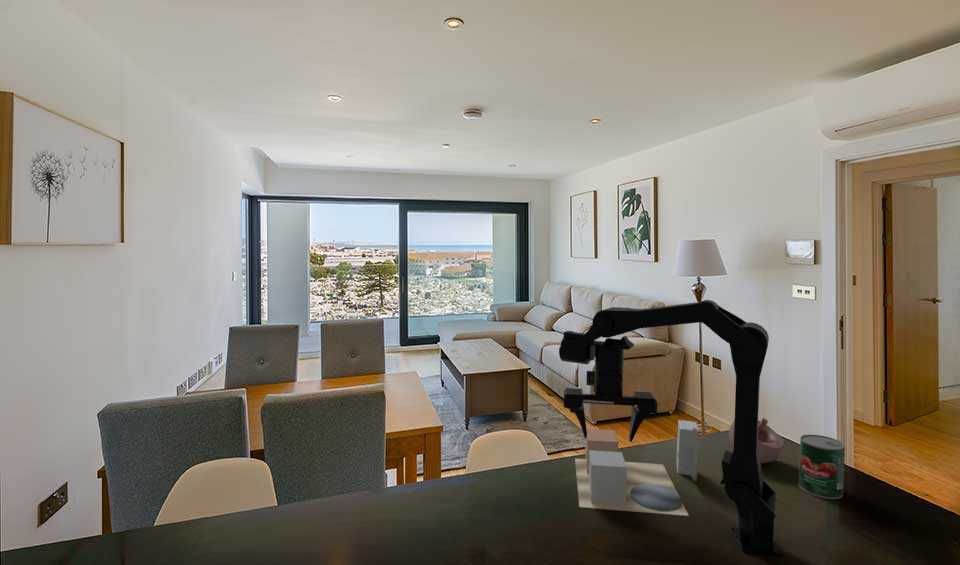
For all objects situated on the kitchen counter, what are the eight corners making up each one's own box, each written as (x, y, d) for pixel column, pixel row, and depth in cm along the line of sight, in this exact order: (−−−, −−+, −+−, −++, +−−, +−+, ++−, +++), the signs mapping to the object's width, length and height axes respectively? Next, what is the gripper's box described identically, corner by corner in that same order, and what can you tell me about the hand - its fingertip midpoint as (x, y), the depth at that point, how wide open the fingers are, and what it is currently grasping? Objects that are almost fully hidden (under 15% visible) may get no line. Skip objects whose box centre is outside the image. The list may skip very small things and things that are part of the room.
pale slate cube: (626, 505, 92) (626, 467, 92) (591, 502, 93) (591, 465, 93) (621, 487, 99) (621, 452, 98) (588, 485, 100) (588, 450, 100)
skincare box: (675, 467, 111) (676, 419, 110) (695, 470, 109) (696, 421, 108) (677, 479, 105) (678, 428, 104) (698, 482, 103) (699, 430, 103)
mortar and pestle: (775, 477, 105) (777, 429, 105) (721, 460, 114) (722, 416, 113) (789, 461, 113) (791, 416, 113) (737, 446, 122) (738, 405, 121)
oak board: (688, 521, 88) (688, 514, 88) (579, 512, 92) (579, 505, 92) (662, 468, 110) (662, 463, 110) (574, 463, 113) (575, 457, 113)
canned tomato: (801, 494, 98) (803, 444, 97) (795, 478, 105) (797, 431, 104) (847, 503, 94) (849, 451, 94) (838, 485, 101) (840, 438, 101)
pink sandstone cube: (618, 475, 104) (618, 442, 104) (587, 473, 106) (587, 440, 105) (614, 461, 111) (614, 430, 111) (585, 460, 112) (585, 428, 112)
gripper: (648, 360, 101) (647, 428, 102) (564, 357, 105) (563, 422, 106) (658, 373, 90) (656, 449, 91) (564, 369, 94) (563, 442, 95)
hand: (607, 439), depth 96 cm, fingers open, 9 cm apart
